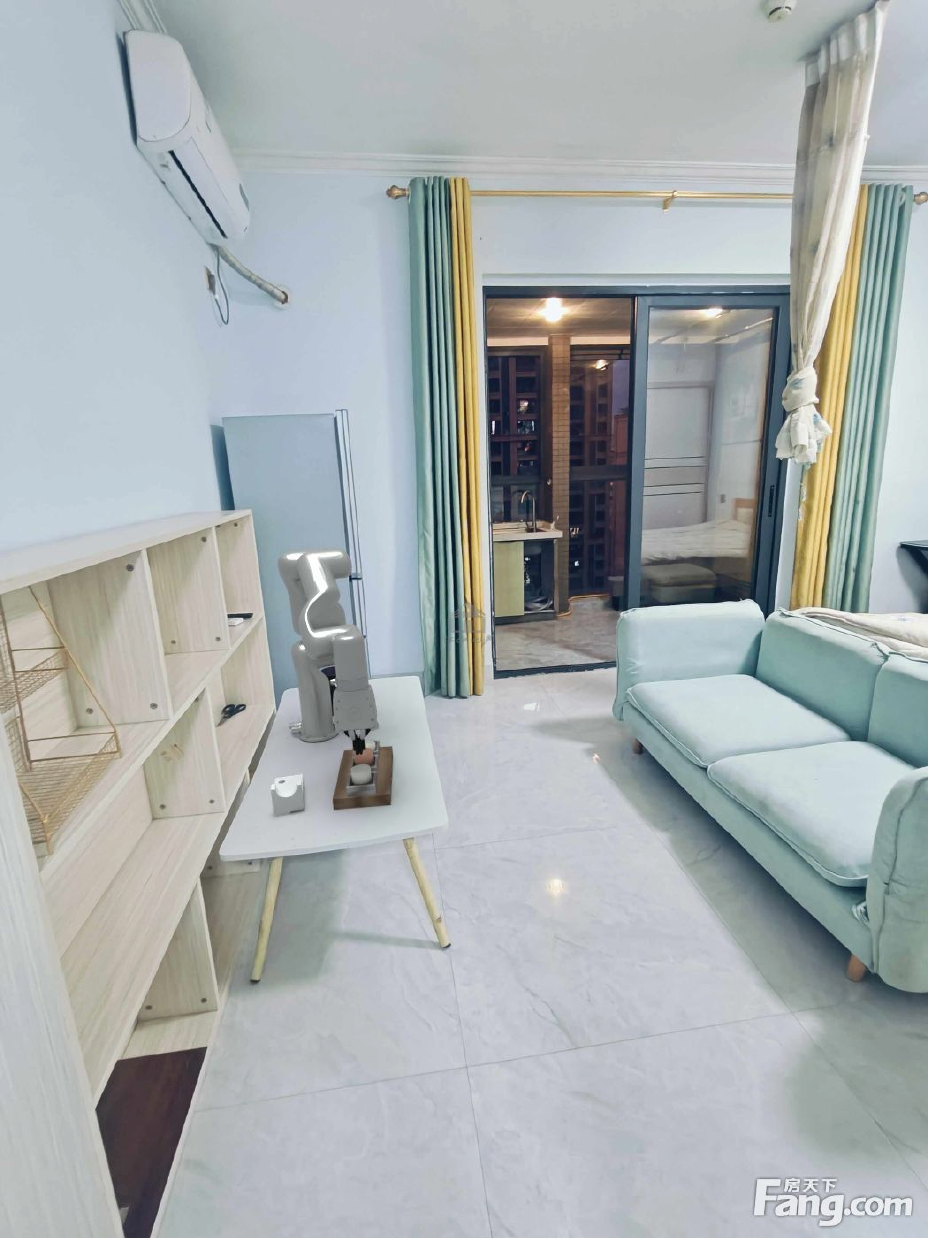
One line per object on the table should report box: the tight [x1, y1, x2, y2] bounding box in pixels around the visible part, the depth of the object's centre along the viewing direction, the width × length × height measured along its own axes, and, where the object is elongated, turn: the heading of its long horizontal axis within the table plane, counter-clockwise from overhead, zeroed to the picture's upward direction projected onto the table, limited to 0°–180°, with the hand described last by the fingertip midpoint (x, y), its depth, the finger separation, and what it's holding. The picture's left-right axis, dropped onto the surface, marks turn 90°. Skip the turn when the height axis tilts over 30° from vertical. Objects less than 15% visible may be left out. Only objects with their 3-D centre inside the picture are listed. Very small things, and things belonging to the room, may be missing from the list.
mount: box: [332, 739, 394, 811], centre depth 155 cm, size 14×26×6 cm, turn 6°
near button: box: [351, 764, 372, 785], centre depth 145 cm, size 5×5×3 cm
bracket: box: [270, 773, 305, 817], centre depth 147 cm, size 13×7×8 cm, turn 15°
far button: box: [365, 739, 376, 751], centre depth 163 cm, size 5×5×3 cm
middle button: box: [354, 748, 374, 766], centre depth 154 cm, size 5×5×3 cm
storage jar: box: [320, 665, 337, 717], centre depth 201 cm, size 10×10×15 cm
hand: (359, 752), depth 143 cm, fingers closed
